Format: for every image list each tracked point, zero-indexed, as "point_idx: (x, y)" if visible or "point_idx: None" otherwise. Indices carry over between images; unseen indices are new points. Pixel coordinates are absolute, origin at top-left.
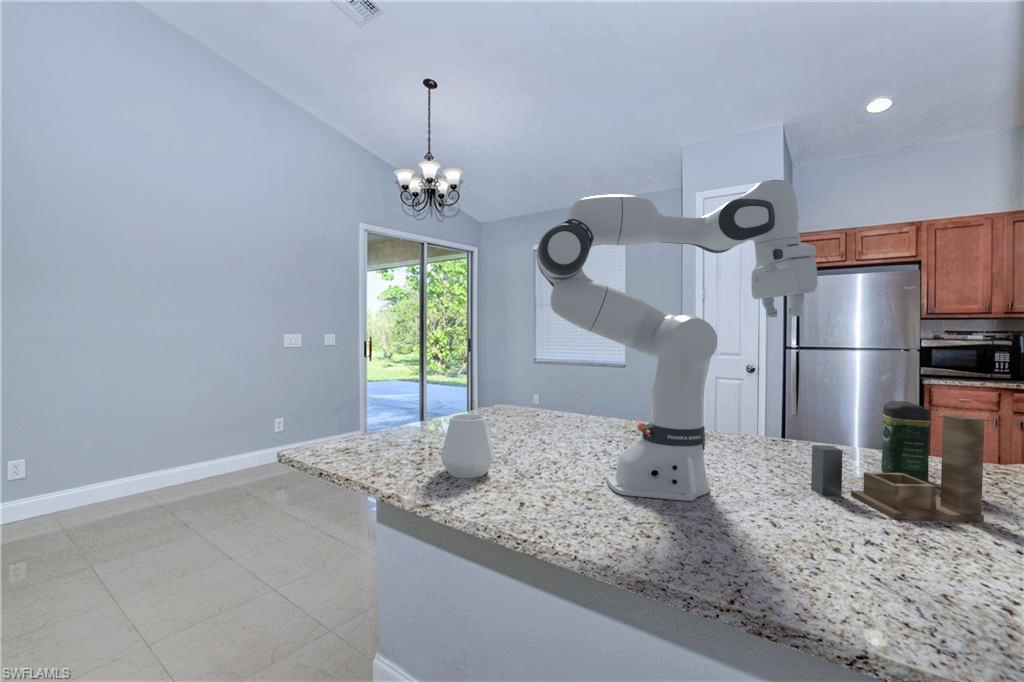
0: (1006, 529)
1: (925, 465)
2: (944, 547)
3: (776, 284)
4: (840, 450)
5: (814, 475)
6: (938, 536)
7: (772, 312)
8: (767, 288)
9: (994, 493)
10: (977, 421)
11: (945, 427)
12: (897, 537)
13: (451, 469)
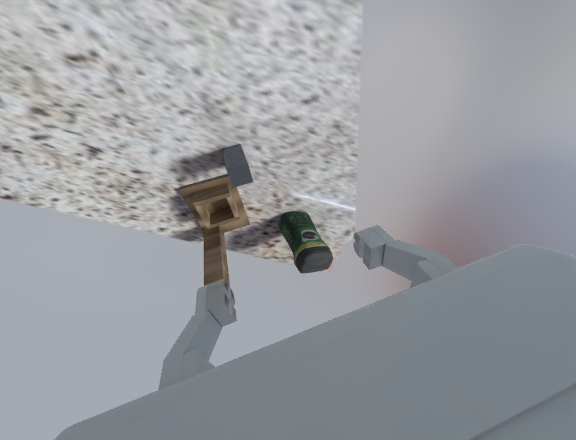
0: (198, 240)
1: (284, 237)
2: (128, 200)
3: (305, 432)
4: (232, 185)
5: (237, 151)
6: (154, 203)
7: (364, 249)
8: (417, 353)
9: (272, 253)
10: None
11: (219, 270)
12: (129, 176)
13: None
